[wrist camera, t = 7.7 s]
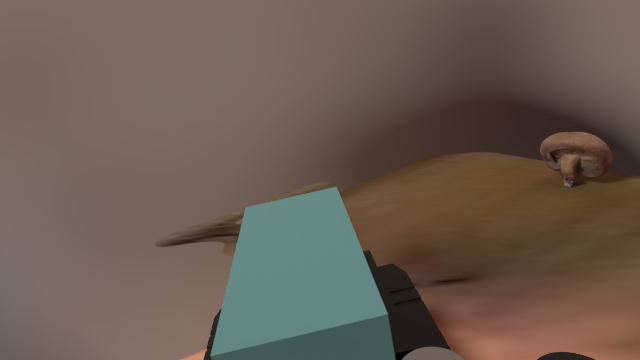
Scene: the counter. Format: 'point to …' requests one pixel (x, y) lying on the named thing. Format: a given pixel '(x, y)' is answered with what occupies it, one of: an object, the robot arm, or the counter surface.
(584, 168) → the mushroom
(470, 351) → the counter surface
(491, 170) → the counter surface
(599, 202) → the counter surface
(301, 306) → the rectangular block
